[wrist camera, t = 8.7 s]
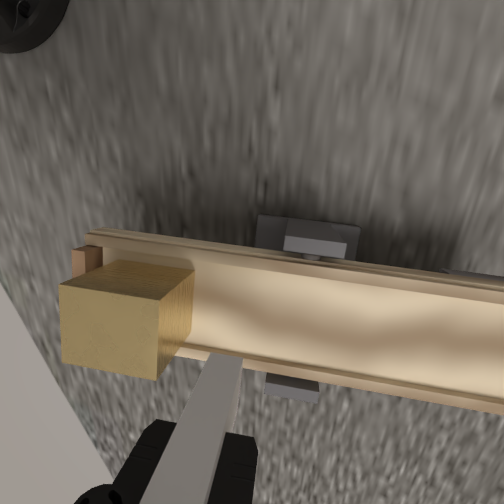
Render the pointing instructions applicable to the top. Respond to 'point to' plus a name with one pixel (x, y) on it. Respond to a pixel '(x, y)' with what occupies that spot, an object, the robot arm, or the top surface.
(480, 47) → the top surface
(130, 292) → the rider
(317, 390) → the pivot stand
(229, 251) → the beam
